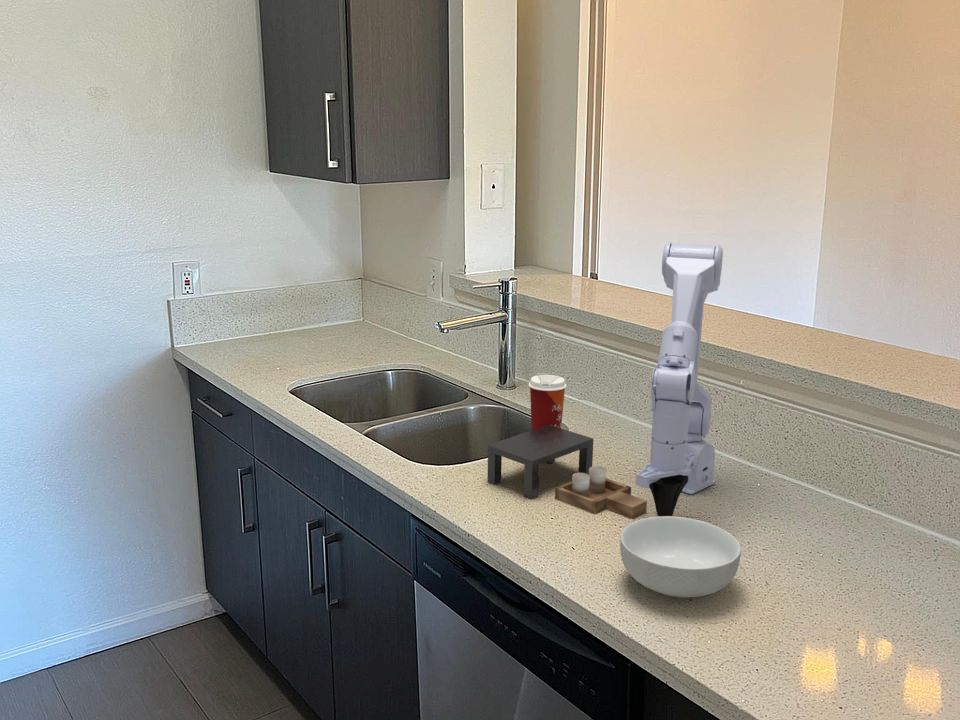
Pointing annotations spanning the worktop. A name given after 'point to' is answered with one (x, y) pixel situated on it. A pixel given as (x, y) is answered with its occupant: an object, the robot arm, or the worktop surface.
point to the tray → (600, 494)
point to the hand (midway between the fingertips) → (664, 516)
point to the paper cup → (547, 400)
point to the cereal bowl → (679, 555)
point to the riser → (538, 453)
